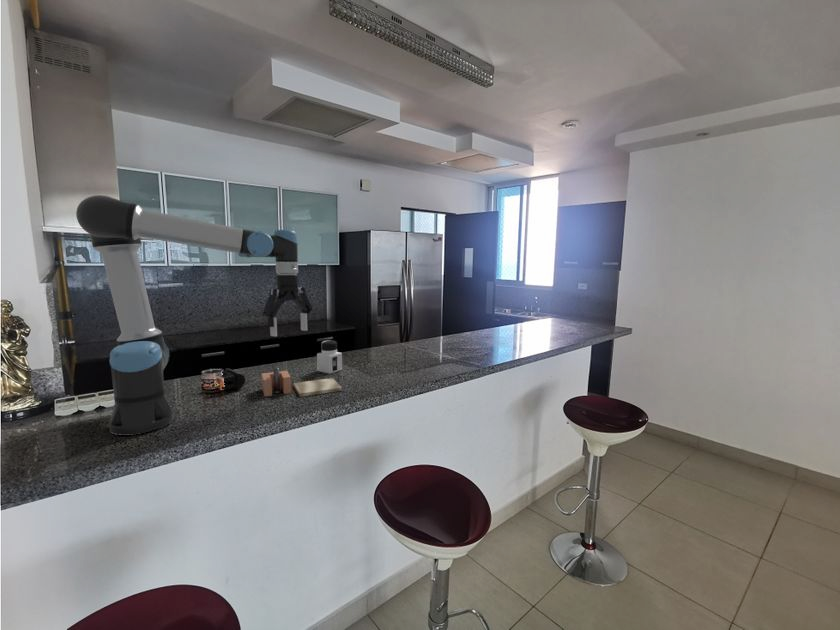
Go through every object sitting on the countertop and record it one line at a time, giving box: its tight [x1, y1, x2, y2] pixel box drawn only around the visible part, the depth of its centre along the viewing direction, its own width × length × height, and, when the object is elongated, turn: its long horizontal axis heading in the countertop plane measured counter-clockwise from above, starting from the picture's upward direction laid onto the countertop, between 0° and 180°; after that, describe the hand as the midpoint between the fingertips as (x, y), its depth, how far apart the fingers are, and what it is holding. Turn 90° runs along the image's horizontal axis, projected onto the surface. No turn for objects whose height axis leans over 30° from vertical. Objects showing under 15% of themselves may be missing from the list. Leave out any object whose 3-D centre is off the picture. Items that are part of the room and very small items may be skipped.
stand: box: [272, 367, 282, 395], centre depth 139 cm, size 3×3×9 cm
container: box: [316, 339, 343, 375], centre depth 167 cm, size 8×8×13 cm
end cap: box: [220, 368, 246, 394], centre depth 143 cm, size 10×7×7 cm
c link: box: [261, 370, 292, 397], centre depth 141 cm, size 9×9×6 cm
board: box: [293, 377, 343, 398], centre depth 144 cm, size 15×13×1 cm
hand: (289, 333), depth 140 cm, fingers open, 13 cm apart
